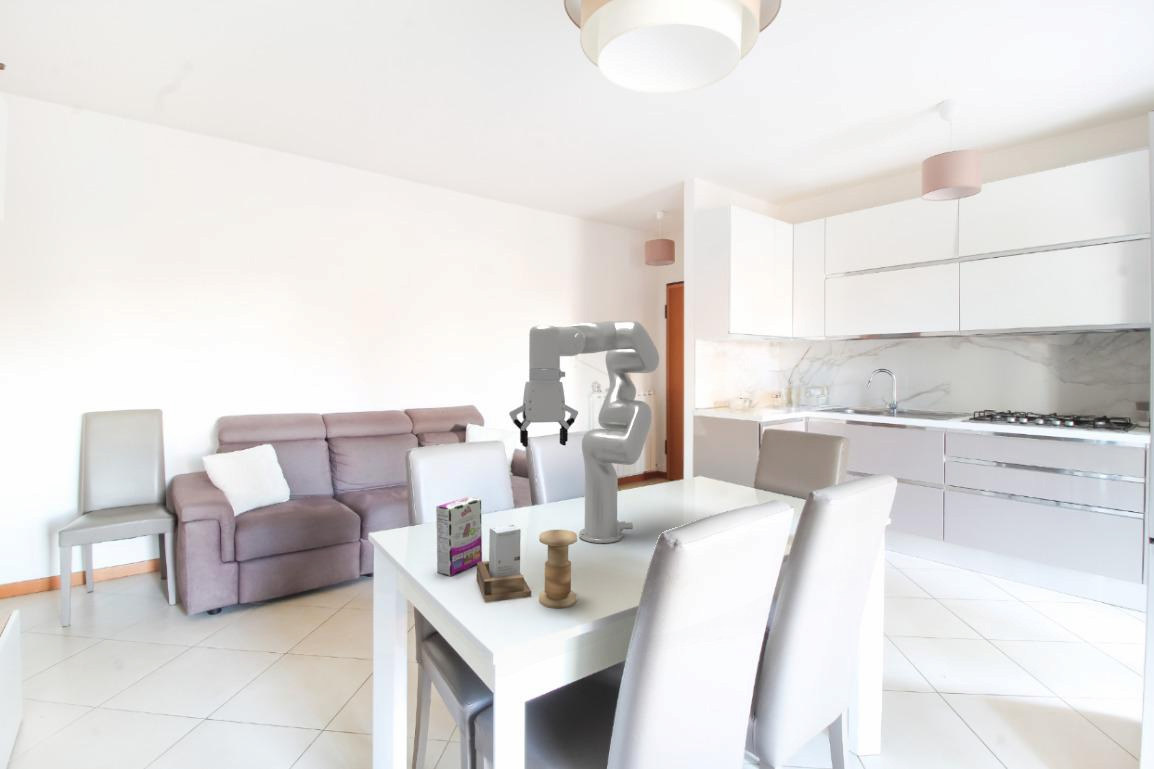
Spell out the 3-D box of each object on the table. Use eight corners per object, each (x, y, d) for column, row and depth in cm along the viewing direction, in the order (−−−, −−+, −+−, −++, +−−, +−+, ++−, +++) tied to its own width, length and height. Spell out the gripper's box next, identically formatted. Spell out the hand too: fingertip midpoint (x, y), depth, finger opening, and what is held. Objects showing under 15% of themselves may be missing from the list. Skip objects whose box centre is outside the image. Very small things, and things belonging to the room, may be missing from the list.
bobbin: (570, 590, 123) (570, 528, 122) (581, 605, 115) (581, 539, 115) (535, 594, 120) (535, 531, 120) (544, 610, 113) (544, 542, 112)
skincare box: (495, 587, 121) (496, 533, 120) (487, 580, 125) (488, 527, 124) (521, 582, 124) (521, 528, 124) (512, 575, 128) (513, 523, 127)
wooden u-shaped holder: (518, 574, 132) (518, 557, 132) (531, 596, 120) (531, 577, 120) (476, 579, 129) (476, 561, 129) (484, 602, 117) (484, 582, 116)
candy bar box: (467, 559, 142) (468, 496, 142) (482, 563, 139) (482, 498, 139) (435, 572, 133) (435, 505, 132) (450, 577, 130) (450, 508, 129)
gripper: (573, 376, 142) (572, 442, 143) (506, 375, 137) (506, 444, 137) (582, 376, 135) (582, 446, 136) (512, 376, 130) (512, 449, 130)
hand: (544, 445), depth 136 cm, fingers open, 9 cm apart
